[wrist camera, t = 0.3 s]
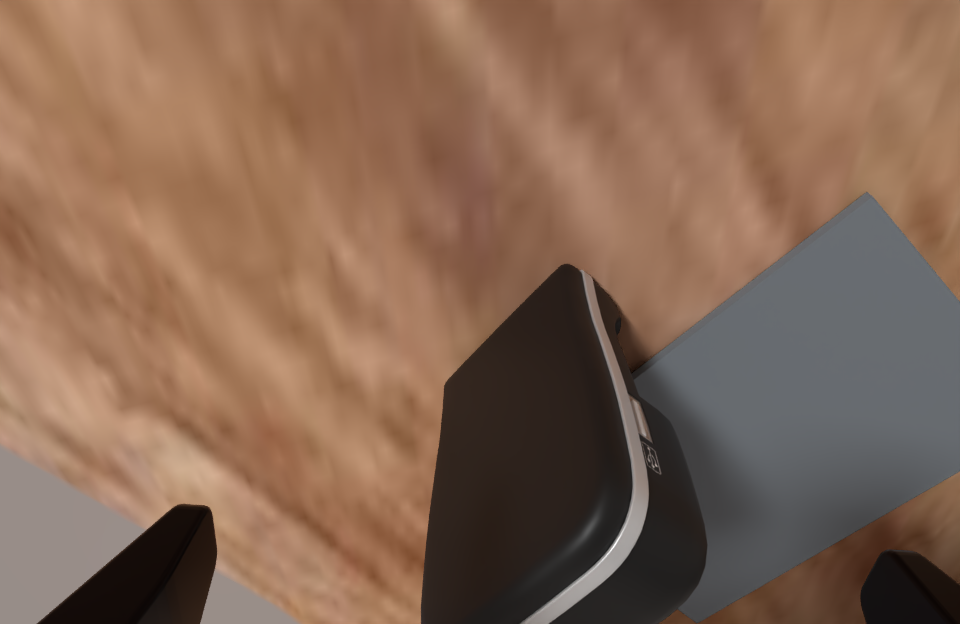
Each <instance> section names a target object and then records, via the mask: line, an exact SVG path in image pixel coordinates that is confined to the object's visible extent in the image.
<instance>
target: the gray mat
mask: <svg viewBox="0 0 960 624" xmlns="http://www.w3.org/2000/svg"><path fill="white" fill-rule="evenodd" d="M631 375H632V377H633V380H634V383H635V385H636V388H637V391H638V394H639V396H640V397H641V398H643V399H644V400H646V401H647V402H648V403H650V404H651V405H652V406H654V407H655V408H656V409H658V410H659V411H660V412H661V413H662V414H663V415H664V416H665V417H666V418H667V419H668V420H669V421H670V422H671V424H672V426H673V428H674V430H675V432H676V434H677V436H678V439H679V442H680V445H681V448H682V450H683V453H684V456H685V459H686V462H687V465H688V468H689V471H690V474H691V478H692V481H693V484H694V488H695V491H696V495H697V498H698V502H699V505H700V509H701V513H702V517H703V520H704V524H705V531H706V538H707V544H708V546H707V555H706V565H705V569H704V572H703V574H702V577H701V580H700V582H699V585H698V586H697V587H696V589H695V590H694V591H693V593H692V594H691V595H690V597H689V598H688V599H687V601H686V602H685V603H683V604H682V605H681V606H680V607H679V608H678V610H679V611H681V612H682V613H683V614H685V615H686V616H688V617H689V618H690V619H692V620H693V621H694V622H696V623H699V622H701V621H702V620H704V619H706V618H707V617H709V616H711V615H713V614H714V613H716V612H718V611H720V610H721V609H723V608H725V607H726V606H728V605H730V604H732V603H733V602H735V601H737V600H739V599H740V598H742V597H744V596H745V595H747V594H749V593H751V592H752V591H754V590H756V589H757V588H759V587H761V586H763V585H764V584H766V583H768V582H770V581H771V580H773V579H775V578H776V577H778V576H780V575H782V574H783V573H785V572H787V571H789V570H790V569H792V568H794V567H795V566H797V565H799V564H801V563H802V562H804V561H806V560H808V559H809V558H811V557H813V556H814V555H816V554H818V553H820V552H821V551H823V550H825V549H827V548H828V547H830V546H832V545H833V544H835V543H837V542H839V541H840V540H842V539H844V538H846V537H847V536H849V535H851V534H852V533H854V532H856V531H858V530H859V529H861V528H863V527H864V526H866V525H868V524H870V523H871V522H873V521H875V520H877V519H878V518H880V517H882V516H883V515H885V514H887V513H889V512H890V511H892V510H894V509H896V508H897V507H899V506H901V505H902V504H904V503H906V502H908V501H909V500H911V499H913V498H915V497H916V496H918V495H920V494H921V493H923V492H925V491H927V490H928V489H930V488H932V487H934V486H935V485H937V484H939V483H940V482H942V481H944V480H946V479H947V478H949V477H951V476H952V475H954V474H956V473H958V472H959V471H960V302H959V300H958V299H957V298H956V297H955V295H954V294H953V293H952V292H951V291H950V289H949V288H948V287H947V286H946V285H945V283H944V282H943V281H942V280H941V279H940V277H939V276H938V275H937V274H936V272H935V271H934V270H933V269H932V268H931V266H930V265H929V264H928V263H927V262H926V260H925V259H924V258H923V257H922V256H921V254H920V253H919V252H918V251H917V250H916V248H915V247H914V246H913V245H912V243H911V242H910V241H909V240H908V239H907V237H906V236H905V235H904V234H903V233H902V231H901V230H900V229H899V228H898V227H897V225H896V224H895V223H894V222H893V220H892V219H891V218H890V217H889V216H888V214H887V213H886V212H885V211H884V210H883V208H882V207H881V206H880V205H879V204H878V202H877V201H876V200H875V199H874V198H873V196H871V195H870V194H869V193H867V192H866V193H865V194H863V195H862V196H861V197H860V198H858V199H857V200H856V201H854V202H853V203H852V204H851V205H849V206H848V207H847V208H845V209H844V210H843V211H841V212H840V213H839V214H838V215H836V216H835V217H834V218H832V219H831V220H830V221H829V222H827V223H826V224H825V225H823V226H822V227H821V228H819V229H818V230H817V231H816V232H814V233H813V234H812V235H810V236H809V237H808V238H807V239H805V240H804V241H803V242H801V243H800V244H799V245H797V246H796V247H795V248H794V249H792V250H791V251H790V252H788V253H787V254H786V255H785V256H783V257H782V258H781V259H779V260H778V261H777V262H775V263H774V264H773V265H772V266H770V267H769V268H768V269H766V270H765V271H764V272H762V273H761V274H760V275H759V276H757V277H756V278H755V279H753V280H752V281H751V282H750V283H748V284H747V285H746V286H744V287H743V288H742V289H740V290H739V291H738V292H737V293H735V294H734V295H733V296H731V297H730V298H729V299H728V300H726V301H725V302H724V303H722V304H721V305H720V306H718V307H717V308H716V309H715V310H713V311H712V312H711V313H709V314H708V315H707V316H706V317H704V318H703V319H702V320H700V321H699V322H698V323H696V324H695V325H694V326H693V327H691V328H690V329H689V330H687V331H686V332H685V333H684V334H682V335H681V336H680V337H678V338H677V339H676V340H674V341H673V342H672V343H671V344H669V345H668V346H667V347H665V348H664V349H663V350H662V351H660V352H659V353H658V354H656V355H655V356H654V357H652V358H651V359H650V360H649V361H647V362H646V363H645V364H643V365H642V366H641V367H640V368H638V369H637V370H636V371H634V372H633V373H632V374H631Z"/></svg>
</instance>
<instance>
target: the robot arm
mask: <svg viewBox="0 0 960 624" xmlns="http://www.w3.org/2000/svg"><path fill="white" fill-rule="evenodd" d="M216 559H217V545H216V538H215V530H214V523H213V516H212V512H211V509H210V508H209V507H208V506H205V505H190V504H179V505H177V506H175V507H173V508H172V509H171V510H169V511H168V512H167V513H166V514H165V515H164V516H162V517H161V518H160V519H159V520H158V521H157V522H155V523H154V524H153V525H152V526H151V527H149V528H148V529H147V530H146V531H145V532H144V533H142V535H140V536H139V537H138V538H137V539H136V540H134V541H133V542H132V543H131V544H130V545H128V546H127V547H126V548H125V549H124V550H123V551H121V552H120V553H119V554H118V555H117V556H116V557H114V558H113V559H112V560H111V561H110V562H109V563H107V564H106V565H105V566H104V567H103V568H102V569H100V570H99V571H98V572H97V573H96V574H94V575H93V576H92V577H91V578H90V579H89V580H87V581H86V582H85V583H84V584H83V585H82V586H80V587H79V588H78V589H77V590H76V591H75V592H74V593H72V594H71V595H70V596H69V597H68V598H66V599H65V600H64V601H63V602H62V603H61V604H59V605H58V606H57V607H56V608H55V609H53V610H52V611H51V612H50V613H49V614H48V615H46V616H45V617H44V618H43V619H42V620H41V621H39V622H38V623H37V624H200V622H201V618H202V614H203V610H204V606H205V603H206V599H207V596H208V592H209V588H210V584H211V581H212V577H213V573H214V570H215V565H216ZM861 606H862V610H863V614H864V617H865V620H866V624H960V584H958V583H957V582H956V581H955V580H953V579H952V578H951V577H949V576H948V575H947V574H945V573H944V572H943V571H942V570H940V569H939V568H938V567H936V566H935V565H934V564H933V563H931V562H930V561H929V560H927V559H926V558H925V557H923V556H922V555H921V554H919V553H917V552H913V551H904V550H885V551H884V552H882V553H881V554H880V555H879V557H878V559H877V561H876V563H875V564H874V566H873V568H872V570H871V572H870V574H869V575H868V577H867V579H866V581H865V583H864V585H863V587H862V590H861Z"/></svg>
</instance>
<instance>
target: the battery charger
mask: <svg viewBox="0 0 960 624" xmlns="http://www.w3.org/2000/svg"><path fill="white" fill-rule="evenodd" d="M620 327H621V318H620V315H619V312H618V310H617V308H616V306H615V304H614V302H613V301H612V300H611V298H610V297H609V296H608V295H607V293H606V292H605V291H604V290H603V289H602V288H601V287H600V286H598V285H597V284H596V283H594V282H593V279H592V277H591V276H590V275H589V274H587V273H586V272H585V271H584V270H578V269H577V268H575V267H574V266H572V265H570V264H564V265H561V266H560V267H559V268H558V269H557V270H555V271H554V272H553V273H552V274H551V275H550V276H549V277H548V278H547V279H546V280H545V281H544V282H543V283H542V284H541V285H540V286H539V287H538V288H537V289H536V290H535V291H534V292H533V293H532V294H531V295H530V296H529V297H528V298H527V299H526V300H525V301H524V302H523V303H522V304H521V305H520V306H519V307H518V308H517V309H516V310H515V311H514V312H513V313H512V314H511V315H510V316H509V317H508V318H507V319H506V320H505V321H504V322H503V323H502V324H501V325H500V326H499V327H498V328H497V329H496V330H495V332H494V333H493V334H492V335H491V336H490V337H489V338H488V339H487V340H486V341H485V342H484V343H483V344H482V345H481V346H480V347H479V348H478V349H477V350H476V351H475V352H474V353H473V354H472V355H471V356H470V357H469V358H468V359H467V360H466V361H465V362H464V363H463V364H462V366H461V367H460V368H459V369H458V370H457V371H456V372H455V373H454V374H453V375H452V376H451V377H450V378H449V379H448V380H447V382H446V383H445V385H444V398H443V412H442V422H441V433H440V441H439V448H438V455H437V462H436V469H435V476H434V484H433V491H432V499H431V506H430V514H429V523H428V532H427V541H426V551H425V562H424V574H423V587H422V600H421V624H659V623H660V622H661V621H663V620H664V619H666V618H667V617H668V616H670V615H671V614H672V613H673V612H674V611H675V610H677V609H678V608H679V607H680V606H681V605H682V604H683V603H685V602H686V601H687V599H688V598H689V597H690V595H691V594H692V593H693V591H694V590H695V589H696V587H697V586H698V585H699V582H700V580H701V577H702V574H703V572H704V569H705V565H706V555H707V546H708V544H707V538H706V531H705V524H704V520H703V517H702V513H701V509H700V505H699V502H698V498H697V495H696V491H695V488H694V484H693V481H692V478H691V474H690V471H689V468H688V465H687V462H686V459H685V456H684V453H683V450H682V448H681V445H680V442H679V439H678V436H677V434H676V432H675V430H674V428H673V426H672V424H671V422H670V421H669V420H668V419H667V418H666V417H665V416H664V415H663V414H662V413H661V412H660V411H659V410H658V409H656V408H655V407H654V406H652V405H651V404H650V403H648V402H647V401H646V400H644V399H643V398H641V397H640V396H639V394H638V391H637V388H636V385H635V383H634V380H633V377H632V375H631V372H630V369H629V367H628V364H627V361H626V359H625V356H624V354H623V351H622V349H621V347H620V344H619V342H618V338H617V335H618V333H619V331H620Z"/></svg>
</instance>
